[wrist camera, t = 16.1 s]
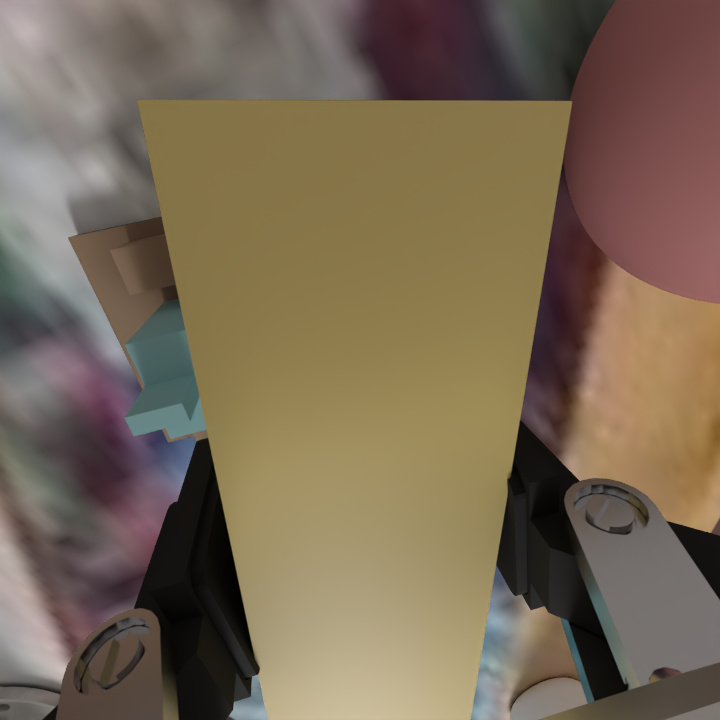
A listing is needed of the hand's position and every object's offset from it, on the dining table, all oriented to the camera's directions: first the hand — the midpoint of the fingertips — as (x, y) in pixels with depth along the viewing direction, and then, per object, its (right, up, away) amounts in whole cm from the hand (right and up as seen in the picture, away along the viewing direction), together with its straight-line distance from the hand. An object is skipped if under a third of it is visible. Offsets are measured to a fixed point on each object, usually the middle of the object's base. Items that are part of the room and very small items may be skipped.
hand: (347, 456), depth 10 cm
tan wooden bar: (0, 0, 0) cm, 1 cm away
